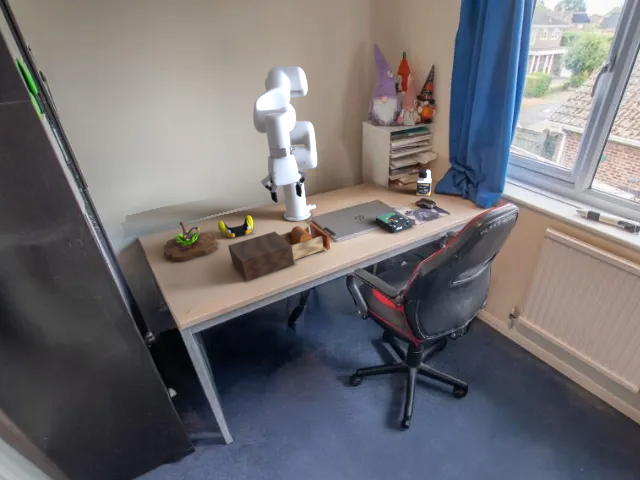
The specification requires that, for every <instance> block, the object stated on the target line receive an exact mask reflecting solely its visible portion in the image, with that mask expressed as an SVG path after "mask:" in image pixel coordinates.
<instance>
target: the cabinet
mask: <svg viewBox="0 0 640 480" xmlns="http://www.w3.org/2000/svg"><path fill="white" fill-rule="evenodd" d="M227 247H228V252H229V255H230V259H231V262H232V265H233V267H234V268H235V269H236V271H238V272H239V274H240V275H241V276H242V278H243V279H244V280H245V281H246V282H249V281H252V280H255V279H258V278H261V277H265V276H267V275H270V274H273V273H276V272H279V271H281V270H284V269H287V268H290V267H292V266H295V260H294V258H293V252H292V246H291V245H290V244H289V243H288V242H287V241H286V240H284V239H283V238H282V237H281V236H280V234H279V233H277V232H276V231H272V232H268V233H265V234H262V235H258V236H255V237H252V238H247V239H244V240H241V241H238V242H235V243H230V244H228V245H227Z"/></svg>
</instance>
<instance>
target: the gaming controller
mask: <svg viewBox="0 0 640 480" xmlns="http://www.w3.org/2000/svg"><path fill="white" fill-rule="evenodd" d="M217 228H218V231H219V232H220V233H221V234H222V235H223V236H225V237H226V238H237V237H242V236H247V235H249V234H251V233H253V230H254V220H253V217H252V216H251V215H246V216H245V218H244V222H243V224H241V225H237V226H233V227H231V226H228V225H227V224H226V223H225V222H224V221H223V220H219V221H218V222H217Z"/></svg>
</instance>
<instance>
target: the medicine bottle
mask: <svg viewBox="0 0 640 480" xmlns="http://www.w3.org/2000/svg"><path fill="white" fill-rule="evenodd" d="M431 173H432V172H431V170H430V169H425V168H424V169H420V170H419V171H418V177H417V180H416V193H415V194H416V195H417V196H431V190H432V188H431V187H432V178H431Z"/></svg>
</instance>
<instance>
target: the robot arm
mask: <svg viewBox="0 0 640 480" xmlns="http://www.w3.org/2000/svg"><path fill="white" fill-rule="evenodd" d="M264 87H265V90H266V91H265V92H263V93H262V94H261V95H260V96H259V97H258V98H257V99H255V101H254V105H253V113H252V120H253V127H254V129H255V130H256V131H257V132H258V133H260V134H266V139H267V144H268V145H267V146H268V150H269V155H268V157H267V171H268V172H267V174H268V175H266V176H265V178H263V179H262V180H261V181H260V183H261V185H262V186H263V187H264V188H265V189H266V190H268V191H269V192H270V198H271V200H272V201H273V202H274V203H276V204H277V203H278V202H279V200H278V195H277V192H276V189H277V188H278V187H280V186H281V187H282V190H283V197H284V204H285V212H284V213H283V217H284V219H285V220H286V221H289V222H301V221H304V220H307V219H309V218H310V217H311V215H312V214H311V210H315V209H317V205H316V204H311V203H309V204H307V200H306V199H307V198H306V192H305V191H306V190H305V184H304V183H305V180H306V178H307V172H306V171H304V170H313V169H315V168H316V167H317V165H318V154H317V145H316V135H315V129H314V125H313V124H312V122H310V121H309V120H297V117H296V110H295V108H294V107H293V105H292V104H291V103H290V101H291V98H303V97H306V95H307V94H308V91H309V90H308V89H309V88H308V81H307V77H306V73H305V71H304V69H302V67H300V66H297V65H288V66H275V67H274V66H273V67H272V68H270V69H269V71H268V72H267V77H266V78H265V79H264ZM296 145H297V146H296ZM298 145H300V146H298ZM301 145H304V146H301ZM268 182H269V184H270V185H269V184H268Z"/></svg>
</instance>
